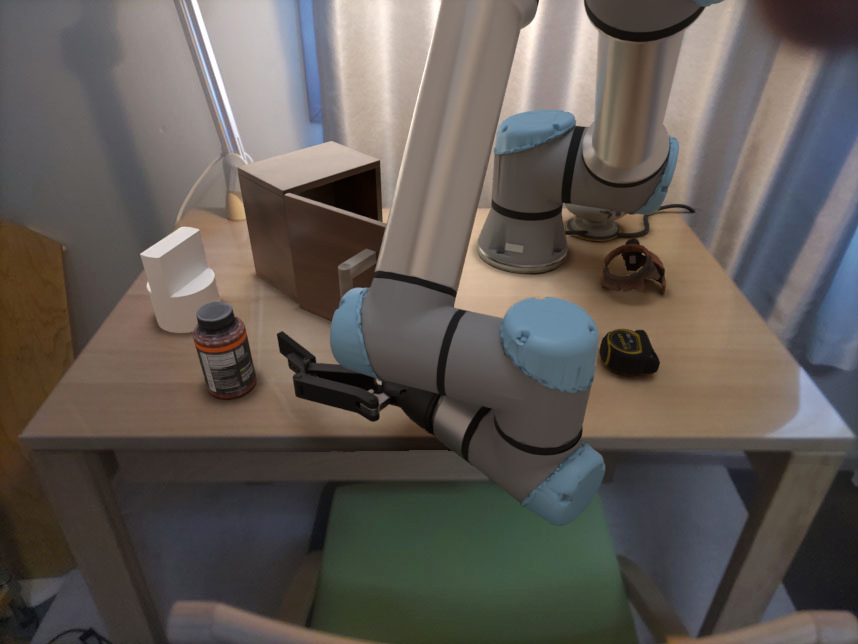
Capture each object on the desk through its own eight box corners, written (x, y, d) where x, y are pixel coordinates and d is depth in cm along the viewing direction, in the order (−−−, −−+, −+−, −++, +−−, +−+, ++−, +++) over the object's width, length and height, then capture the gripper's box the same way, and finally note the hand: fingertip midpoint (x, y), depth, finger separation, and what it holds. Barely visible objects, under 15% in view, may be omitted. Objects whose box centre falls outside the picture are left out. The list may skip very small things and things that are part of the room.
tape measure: (657, 382, 76) (664, 359, 74) (602, 380, 76) (607, 356, 74) (643, 349, 82) (649, 326, 80) (593, 347, 82) (597, 324, 80)
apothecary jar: (580, 209, 118) (595, 117, 108) (637, 227, 112) (659, 131, 102) (547, 230, 111) (560, 132, 101) (606, 251, 105) (627, 149, 94)
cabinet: (384, 265, 100) (380, 159, 90) (298, 304, 90) (282, 190, 80) (340, 241, 107) (331, 140, 97) (256, 274, 97) (236, 167, 87)
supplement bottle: (216, 369, 78) (197, 294, 71) (262, 370, 77) (247, 296, 71) (200, 400, 73) (178, 324, 66) (249, 402, 73) (232, 325, 66)
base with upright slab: (197, 338, 83) (177, 262, 76) (143, 326, 85) (119, 251, 78) (234, 305, 90) (219, 232, 83) (184, 294, 92) (165, 222, 85)
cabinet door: (363, 369, 78) (354, 246, 67) (270, 325, 85) (249, 210, 75) (395, 343, 82) (391, 224, 72) (303, 304, 90) (288, 192, 80)
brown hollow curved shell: (675, 308, 91) (664, 272, 85) (612, 323, 95) (597, 290, 89) (661, 253, 99) (650, 217, 93) (603, 269, 102) (589, 236, 97)
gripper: (360, 500, 55) (242, 389, 68) (529, 379, 70) (406, 305, 82) (354, 442, 51) (230, 335, 64) (536, 326, 65) (405, 257, 78)
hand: (329, 318), depth 73 cm, fingers open, 13 cm apart
